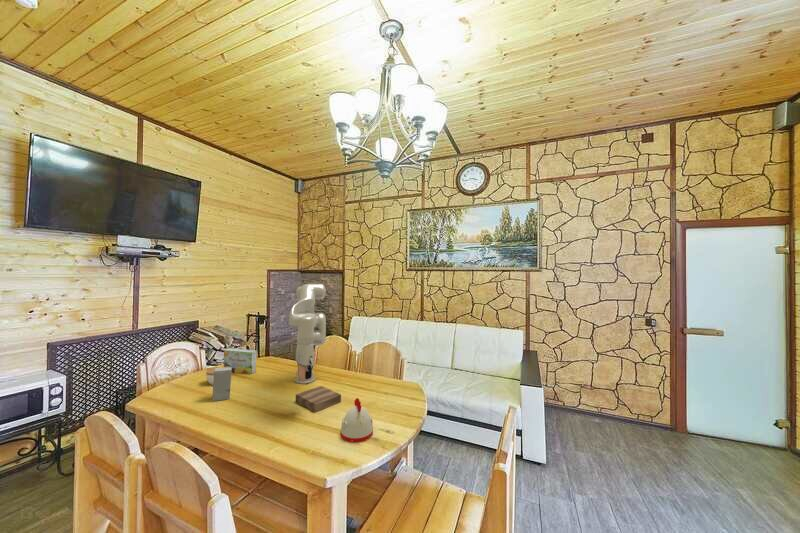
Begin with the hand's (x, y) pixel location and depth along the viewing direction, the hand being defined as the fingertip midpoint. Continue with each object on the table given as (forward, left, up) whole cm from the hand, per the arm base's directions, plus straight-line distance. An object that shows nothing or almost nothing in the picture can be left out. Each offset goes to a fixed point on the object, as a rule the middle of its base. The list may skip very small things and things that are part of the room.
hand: (304, 376), depth 151 cm
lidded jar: (-70, -16, -17) cm, 73 cm away
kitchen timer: (+35, +3, -17) cm, 40 cm away
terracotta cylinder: (0, 0, -1) cm, 1 cm away
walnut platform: (-3, +10, -17) cm, 20 cm away
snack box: (-80, +2, -17) cm, 81 cm away
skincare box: (-45, -22, -17) cm, 52 cm away
